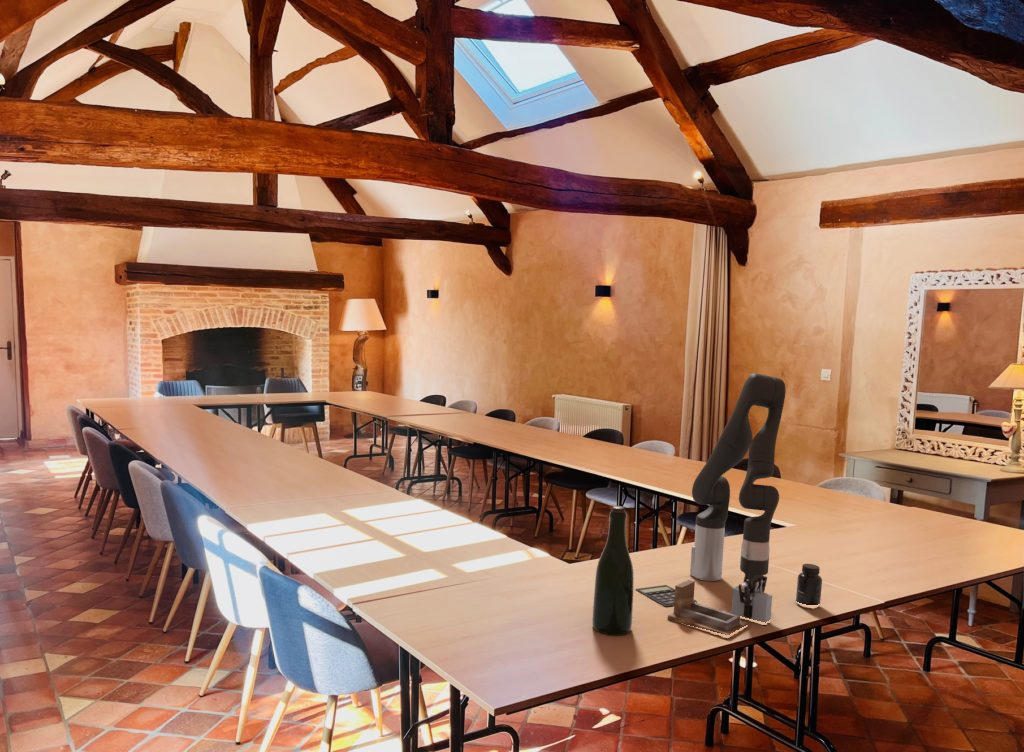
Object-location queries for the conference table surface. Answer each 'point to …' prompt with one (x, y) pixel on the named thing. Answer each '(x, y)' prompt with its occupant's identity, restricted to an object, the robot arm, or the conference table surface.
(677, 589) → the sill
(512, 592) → the conference table surface
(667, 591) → the calculator
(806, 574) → the supplement bottle
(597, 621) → the dark green wine bottle
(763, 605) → the gray rectangular block
